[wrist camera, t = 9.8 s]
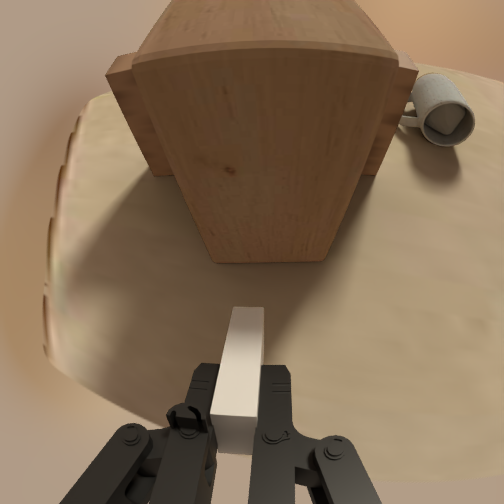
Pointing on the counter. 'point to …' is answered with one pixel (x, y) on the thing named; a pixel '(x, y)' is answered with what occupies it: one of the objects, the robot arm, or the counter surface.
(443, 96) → the ceramic mug
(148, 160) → the walnut board
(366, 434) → the counter surface
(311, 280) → the counter surface
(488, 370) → the counter surface
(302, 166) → the wooden block
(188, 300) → the counter surface
